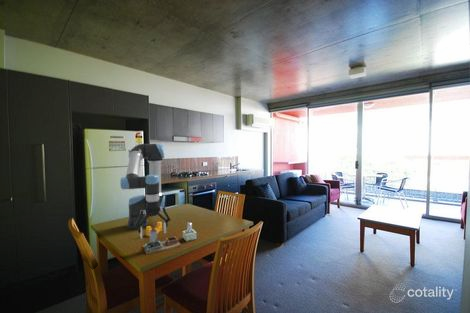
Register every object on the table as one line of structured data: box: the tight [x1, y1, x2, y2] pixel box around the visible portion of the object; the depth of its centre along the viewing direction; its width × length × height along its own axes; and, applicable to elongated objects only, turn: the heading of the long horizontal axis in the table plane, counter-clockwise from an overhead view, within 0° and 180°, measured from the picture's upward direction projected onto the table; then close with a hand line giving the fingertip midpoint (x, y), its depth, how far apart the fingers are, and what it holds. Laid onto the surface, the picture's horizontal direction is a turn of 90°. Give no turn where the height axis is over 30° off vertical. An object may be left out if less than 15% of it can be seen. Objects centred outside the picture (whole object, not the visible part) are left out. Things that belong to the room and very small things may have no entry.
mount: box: [142, 235, 182, 256], centre depth 129 cm, size 12×20×4 cm, turn 122°
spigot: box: [149, 228, 158, 248], centre depth 126 cm, size 4×4×11 cm
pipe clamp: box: [145, 221, 163, 237], centre depth 149 cm, size 12×4×6 cm, turn 155°
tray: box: [182, 228, 197, 243], centre depth 140 cm, size 7×7×5 cm
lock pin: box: [186, 222, 193, 234], centre depth 140 cm, size 3×3×10 cm
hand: (153, 235), depth 126 cm, fingers open, 13 cm apart
